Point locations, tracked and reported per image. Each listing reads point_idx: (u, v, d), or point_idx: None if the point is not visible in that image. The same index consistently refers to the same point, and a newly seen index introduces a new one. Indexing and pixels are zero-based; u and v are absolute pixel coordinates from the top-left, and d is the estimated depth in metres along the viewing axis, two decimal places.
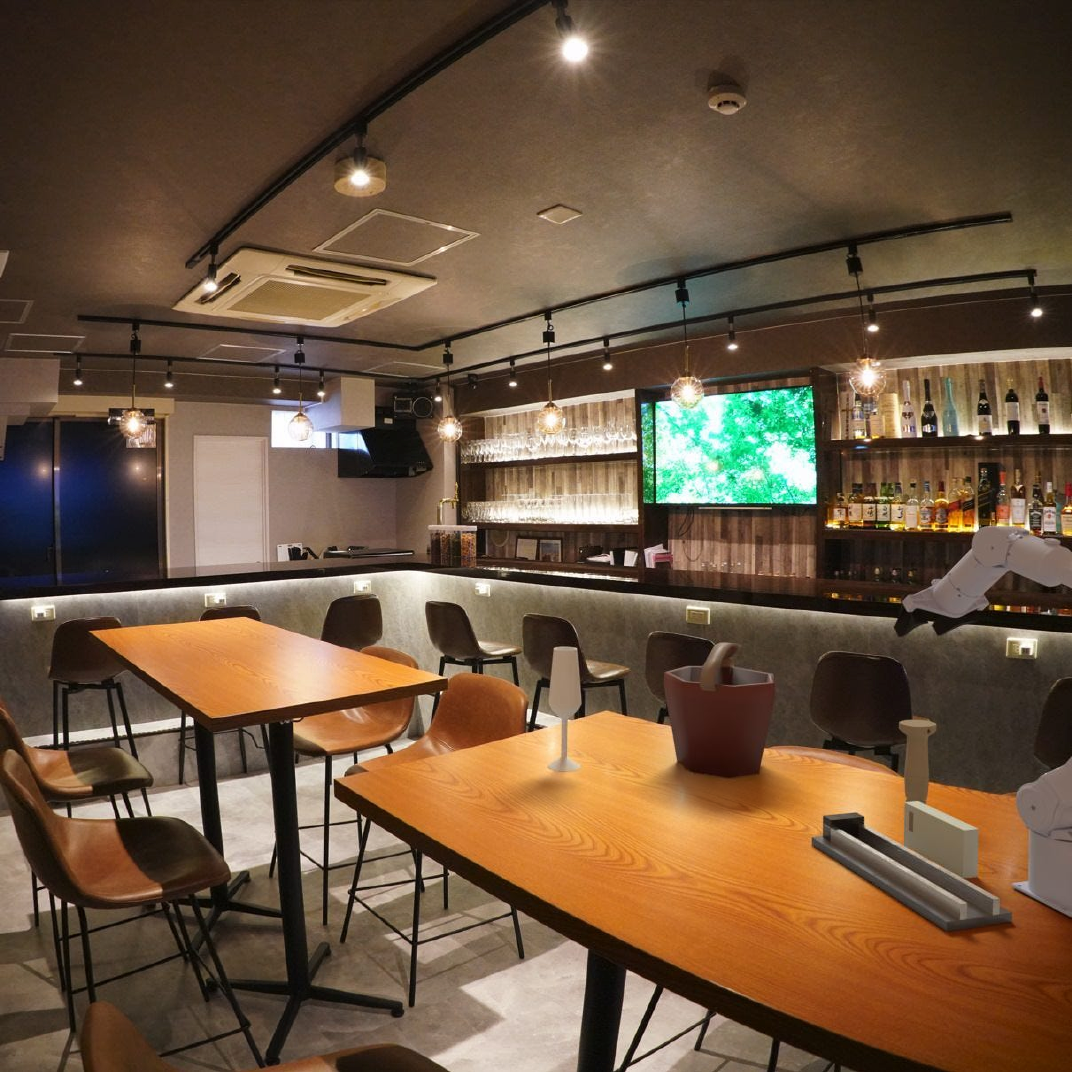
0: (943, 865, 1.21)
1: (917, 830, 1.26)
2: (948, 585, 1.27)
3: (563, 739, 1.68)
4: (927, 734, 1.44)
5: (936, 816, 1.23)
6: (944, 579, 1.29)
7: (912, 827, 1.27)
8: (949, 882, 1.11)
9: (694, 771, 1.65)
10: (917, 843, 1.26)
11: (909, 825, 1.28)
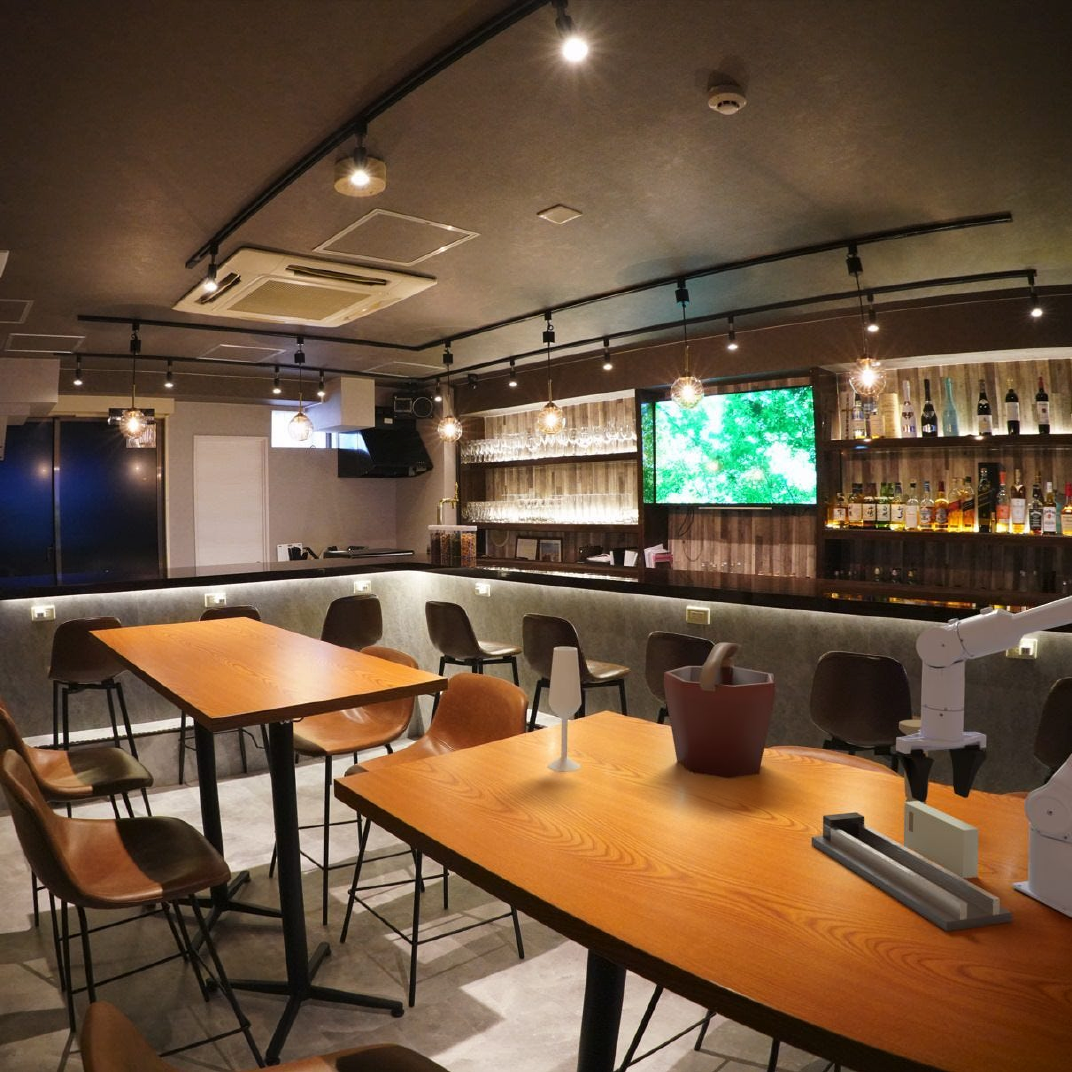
0: (943, 865, 1.21)
1: (917, 830, 1.26)
2: (926, 712, 1.22)
3: (563, 739, 1.68)
4: None
5: (936, 816, 1.23)
6: (921, 712, 1.24)
7: (912, 827, 1.27)
8: (949, 882, 1.11)
9: (694, 771, 1.65)
10: (917, 843, 1.26)
11: (909, 825, 1.28)
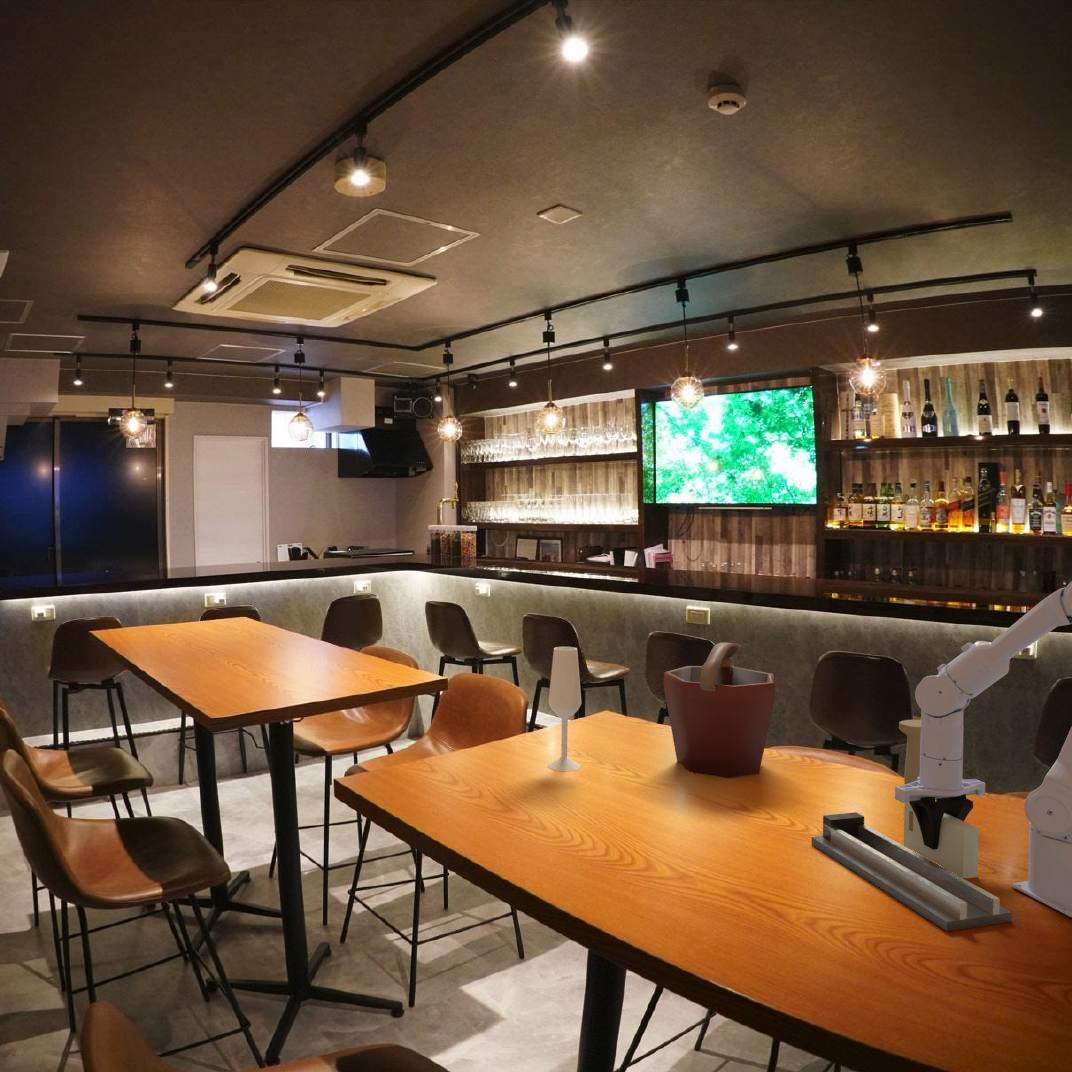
0: (943, 864, 1.21)
1: (917, 829, 1.26)
2: (925, 760, 1.22)
3: (563, 739, 1.68)
4: None
5: None
6: (920, 760, 1.24)
7: (913, 826, 1.27)
8: (949, 882, 1.11)
9: (694, 771, 1.65)
10: (917, 843, 1.26)
11: (909, 824, 1.28)
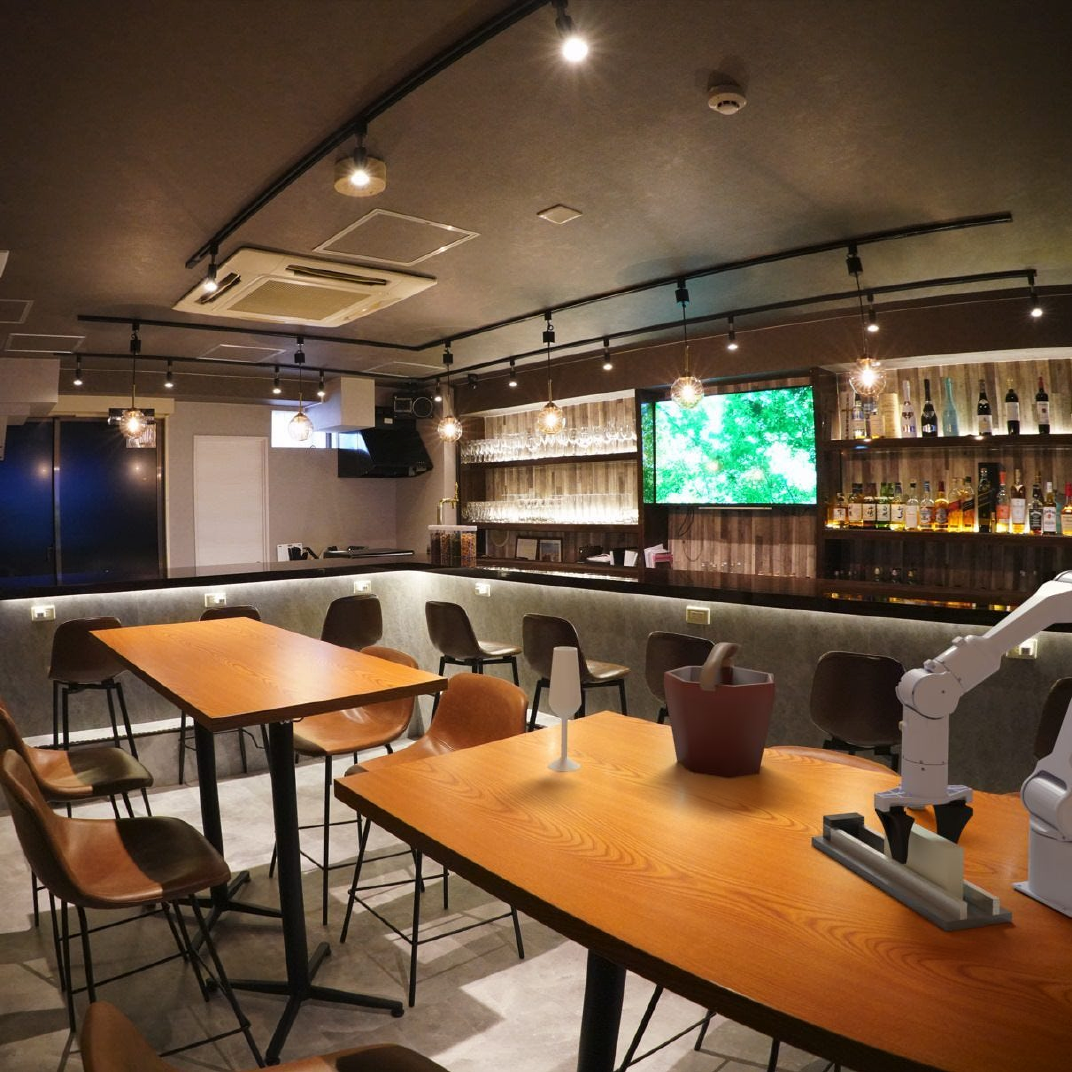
0: None
1: None
2: (907, 765, 1.12)
3: (563, 739, 1.68)
4: None
5: (918, 833, 1.12)
6: (902, 765, 1.13)
7: None
8: None
9: (694, 771, 1.65)
10: (898, 862, 1.16)
11: None
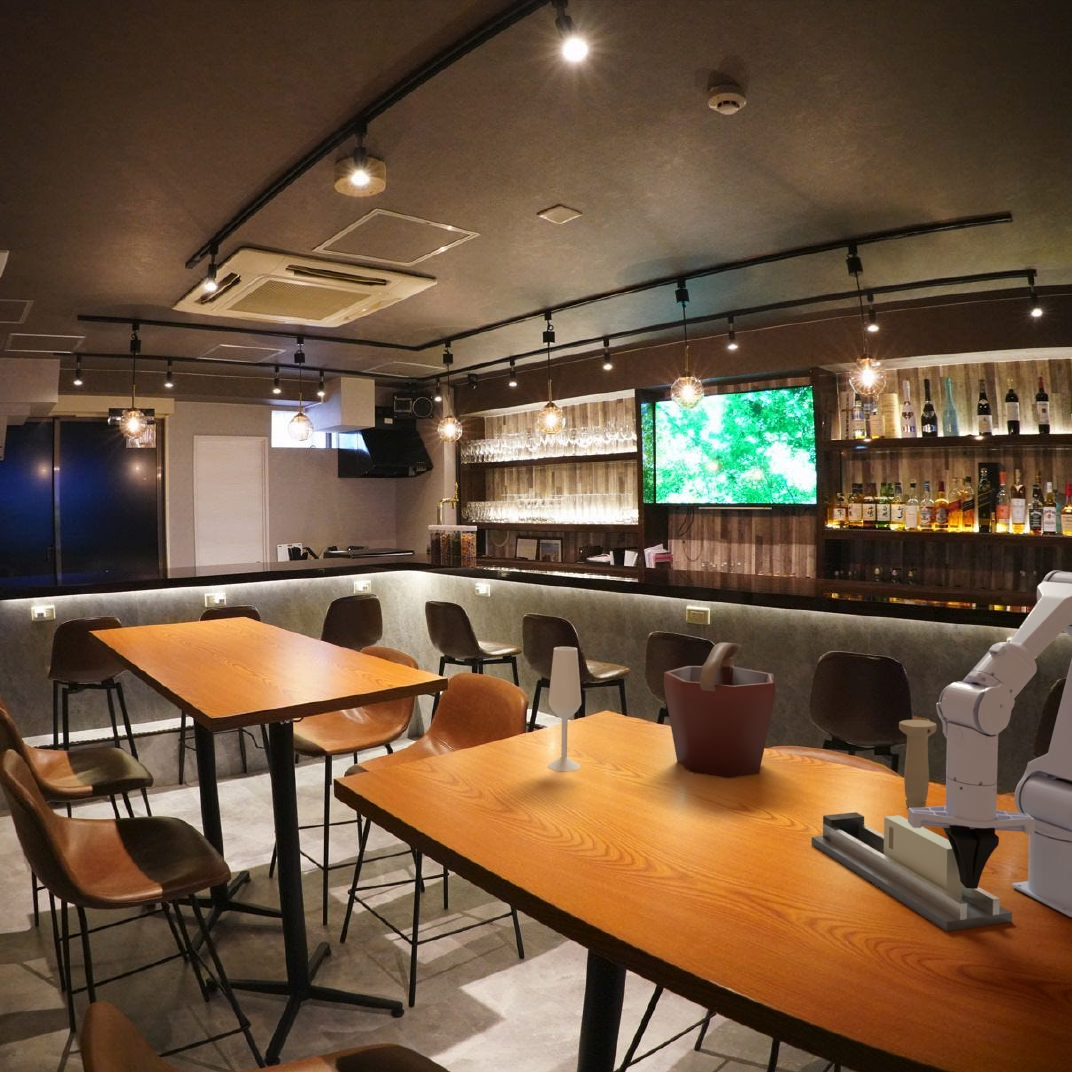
0: None
1: (897, 847, 1.16)
2: (947, 782, 1.05)
3: (563, 739, 1.68)
4: (927, 734, 1.44)
5: (917, 833, 1.12)
6: None
7: (893, 844, 1.17)
8: None
9: (694, 771, 1.65)
10: (897, 862, 1.16)
11: (889, 841, 1.17)
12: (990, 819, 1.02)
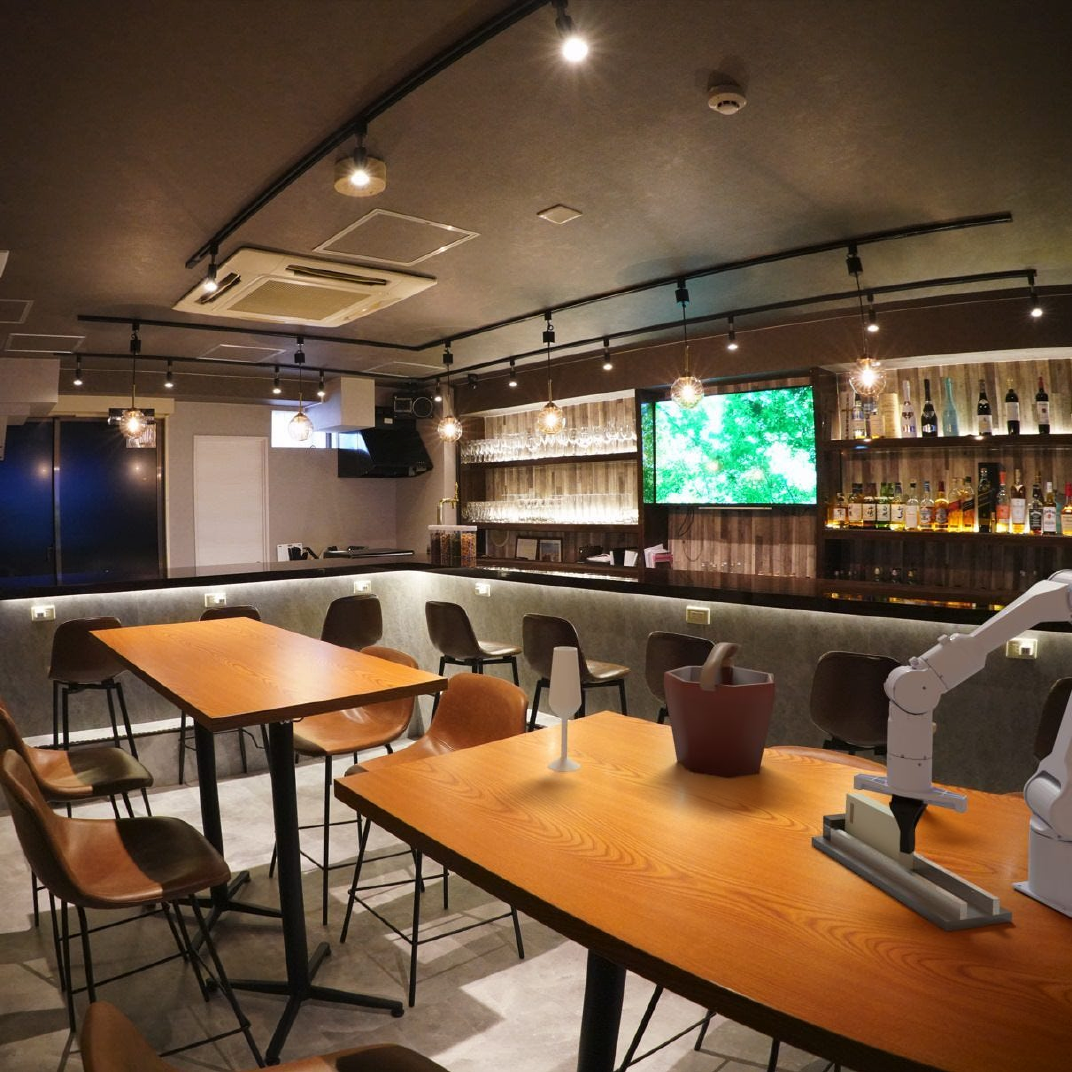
0: None
1: (857, 821, 1.25)
2: None
3: (563, 739, 1.68)
4: None
5: (875, 807, 1.22)
6: None
7: (853, 818, 1.26)
8: (949, 882, 1.11)
9: (694, 771, 1.65)
10: (857, 835, 1.25)
11: (850, 816, 1.27)
12: (913, 790, 1.12)
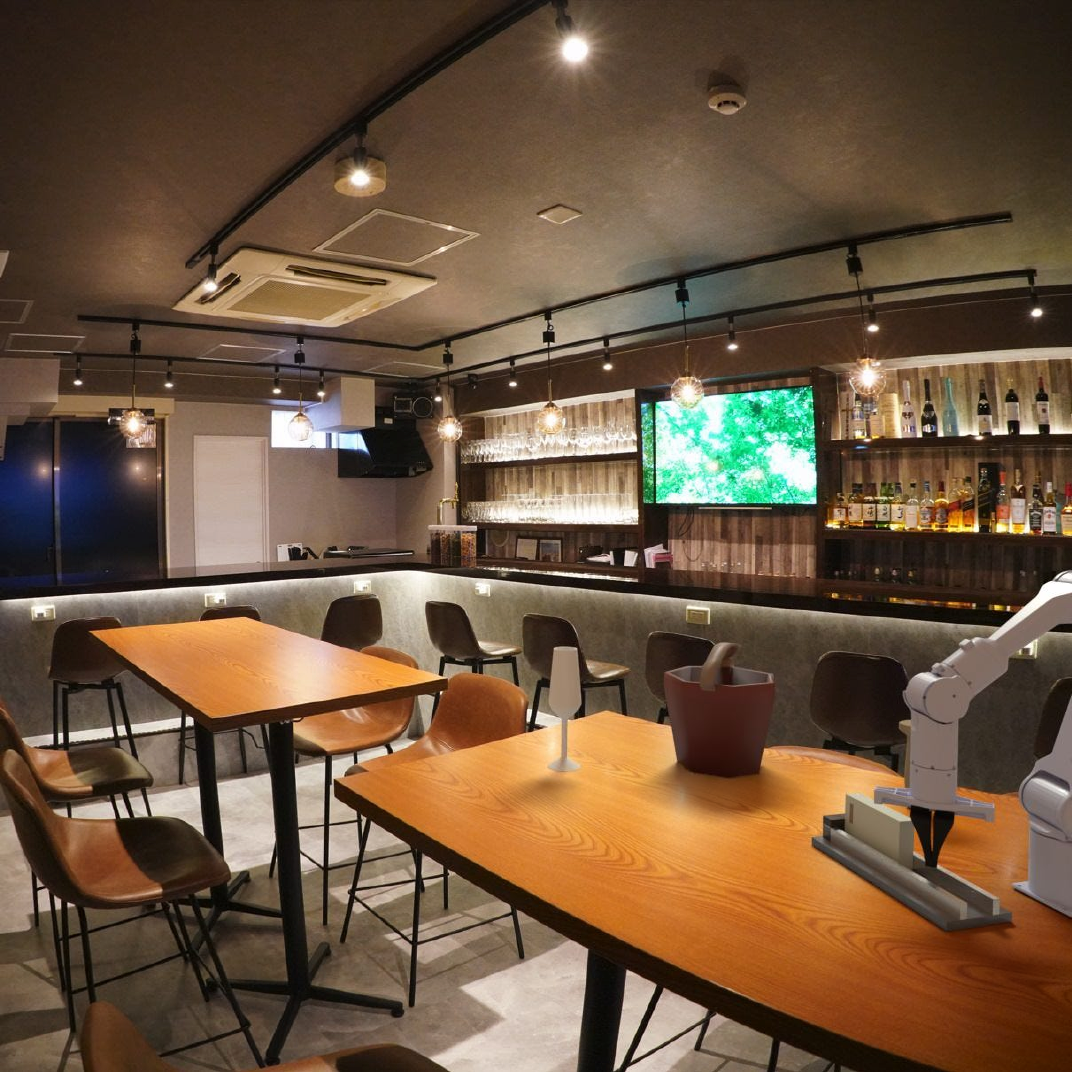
0: None
1: (857, 822, 1.25)
2: (910, 765, 1.12)
3: (563, 739, 1.68)
4: None
5: (874, 807, 1.22)
6: None
7: (853, 819, 1.26)
8: (949, 882, 1.11)
9: (694, 771, 1.65)
10: (857, 835, 1.25)
11: (849, 816, 1.27)
12: (943, 802, 1.08)
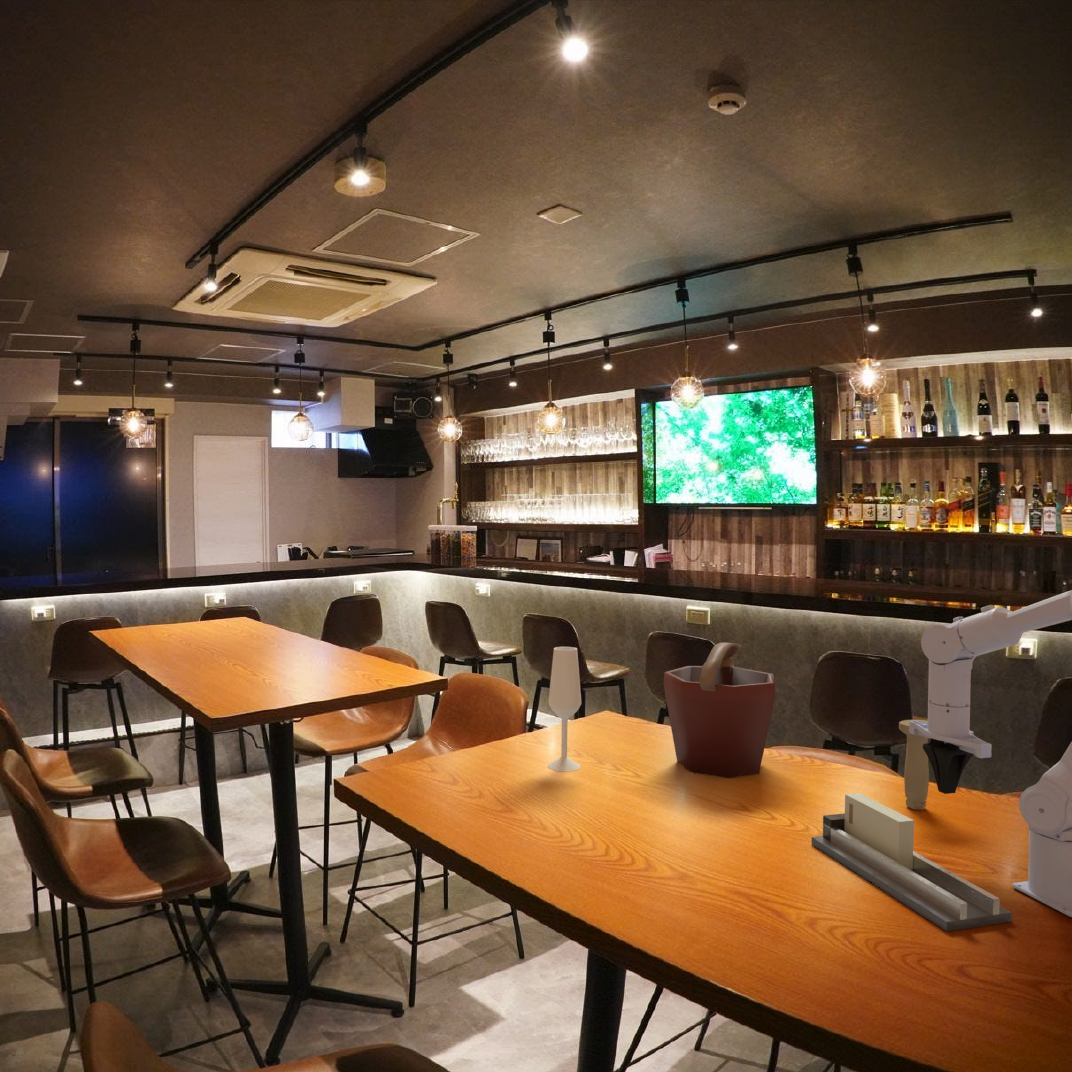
0: None
1: (856, 822, 1.25)
2: None
3: (563, 739, 1.68)
4: None
5: (874, 808, 1.22)
6: None
7: (852, 819, 1.26)
8: (949, 882, 1.11)
9: (694, 771, 1.65)
10: (856, 835, 1.25)
11: (849, 817, 1.27)
12: (941, 734, 1.24)
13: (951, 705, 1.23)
